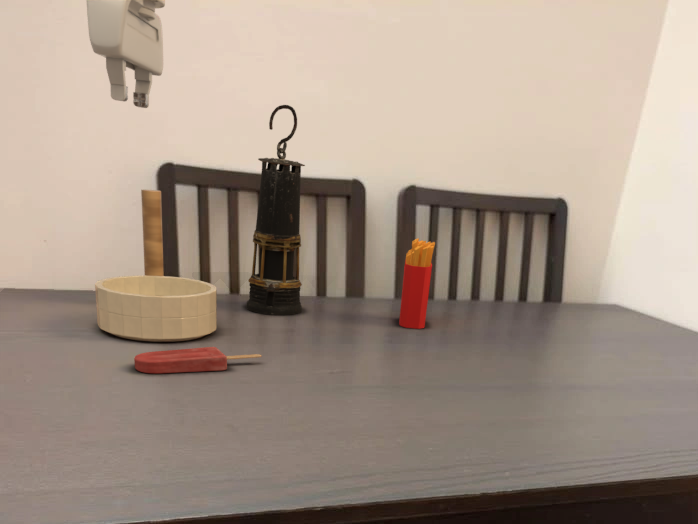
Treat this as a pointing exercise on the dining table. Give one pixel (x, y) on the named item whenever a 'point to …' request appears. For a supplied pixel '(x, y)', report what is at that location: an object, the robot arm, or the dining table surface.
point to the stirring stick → (152, 232)
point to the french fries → (416, 284)
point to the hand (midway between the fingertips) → (130, 104)
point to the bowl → (156, 307)
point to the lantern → (277, 234)
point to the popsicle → (185, 360)
